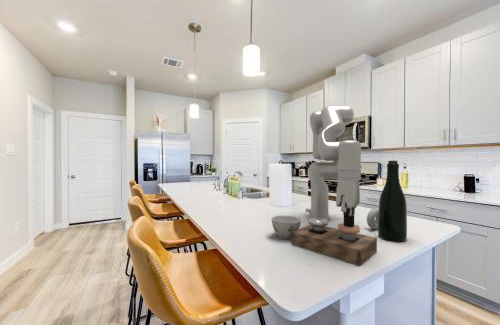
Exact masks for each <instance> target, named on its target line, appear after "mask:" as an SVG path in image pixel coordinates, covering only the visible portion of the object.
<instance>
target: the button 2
mask: <svg viewBox="0 0 500 325" xmlns="http://www.w3.org/2000/svg"><path fill="white" fill-rule="evenodd" d="M337 229H338V230H339V231H341V240H345V241H348V242H352V243H354V242H356V233H358V234H360V229H361V227H360V226H359V225H357V224H354V227H347V226H344V222H342V223H339V224H337Z"/></svg>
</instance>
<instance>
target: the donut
mask: <svg viewBox="0 0 500 325" xmlns="http://www.w3.org/2000/svg"><path fill="white" fill-rule="evenodd" d="M378 214H379V208H376V207H375V208H374V207H373V208H372V209H370V210H369V211H368V214H367V215H366V223H367V226H368V228H370V229H371V230H378Z"/></svg>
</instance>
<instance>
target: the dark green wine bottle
mask: <svg viewBox="0 0 500 325" xmlns="http://www.w3.org/2000/svg"><path fill="white" fill-rule="evenodd" d="M398 162H399V161H398V160H388V162H387V164H386V179H385V184H384V186H383V187H382V188H383V189H382V191H381V192H380V196H379V201H378V209H379V214H378V229H377V234H378V237H379V238H381V239H383V240H385V241H390V242H396V243H397V242H399V243H400V242H401V243H402V242H405V241H407V237H408V233H407V232H408V217H407V216H408V215H407V214H408V213H407V210H408V209H407V206H408V205H407V199H406V196H405V193H404V191H403V188H402V186H401V181H400V176H399V175H400V172H399V171H400V170H399V169H400V164H399V163H398Z"/></svg>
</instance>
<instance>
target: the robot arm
mask: <svg viewBox="0 0 500 325" xmlns="http://www.w3.org/2000/svg"><path fill="white" fill-rule="evenodd" d="M354 117H355V115H354V110H353V108H352V107H351V106H350V105H327V106H325V107H323V108H322V110H317V111H312V113H311V114H310V115H309V126H310V129H311V132H312V157H313V159H315V160H320V161H316V162H315V161H314V162H312V163H311V164H310V165H309V167H308V168H309V176H310V177H309V178H310V208H307V207H306V208H305V213H308V215H307V218H308V219H310V218H315V217H316V218H324V219H327V220H328V221H330V220H331V219H332V215H329V186H328V184H327V182H325V180H337V186H336V198H335V199H336V200H335V205H336V207H337V208H338V207H339V208H340V212H342V215H343V223H344V226H347V227H354V225H355V212H356V208H357V206H359V205H360V202H361V200H360V198H361V194H360V180H361V179H362V177H361V176H362V175H361V174H362V173H361V170H362V168H361V167H362V166H361V164H362V158H361V157H362V151H361V150H362V145H361V142H360V141H358V140H342V141H331V140H335V139H337V138H338V137H339V138H340V136H342V135H343V134H344V132H345V130H346V126H348V125H351V123H352V122H353V120H354Z"/></svg>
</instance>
